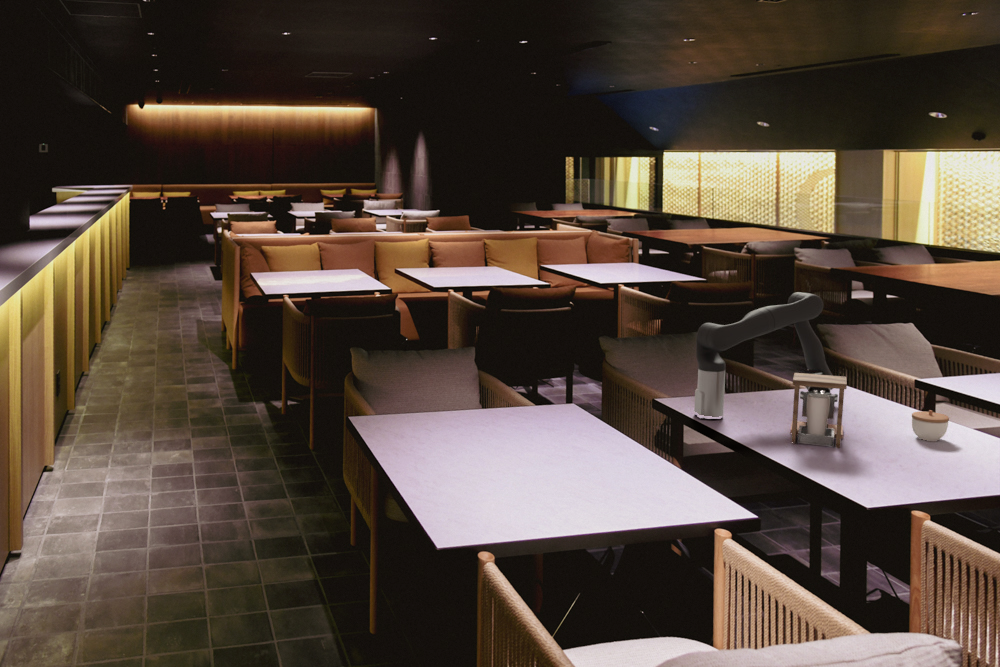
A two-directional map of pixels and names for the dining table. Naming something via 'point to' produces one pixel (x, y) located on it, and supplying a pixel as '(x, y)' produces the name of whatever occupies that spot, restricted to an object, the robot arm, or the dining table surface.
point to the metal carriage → (817, 439)
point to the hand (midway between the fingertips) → (818, 402)
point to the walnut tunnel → (818, 381)
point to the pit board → (826, 427)
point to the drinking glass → (817, 413)
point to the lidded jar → (929, 425)
